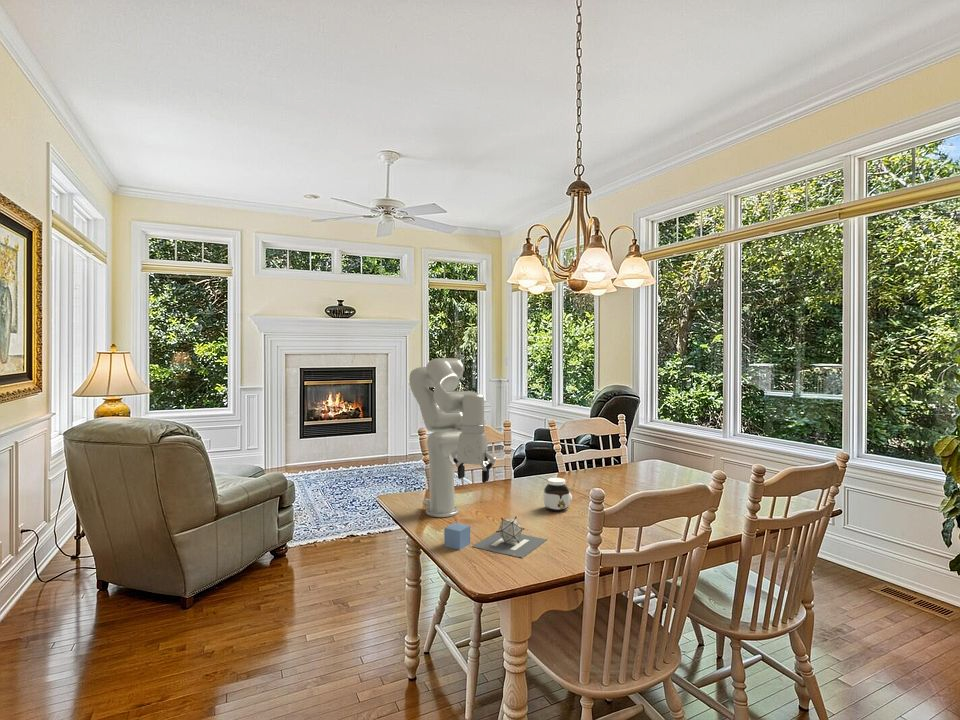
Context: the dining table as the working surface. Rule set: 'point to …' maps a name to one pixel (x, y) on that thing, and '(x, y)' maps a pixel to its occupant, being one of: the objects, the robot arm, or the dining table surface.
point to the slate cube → (457, 536)
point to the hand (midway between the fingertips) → (473, 479)
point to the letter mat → (510, 545)
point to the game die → (510, 530)
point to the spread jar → (557, 495)
